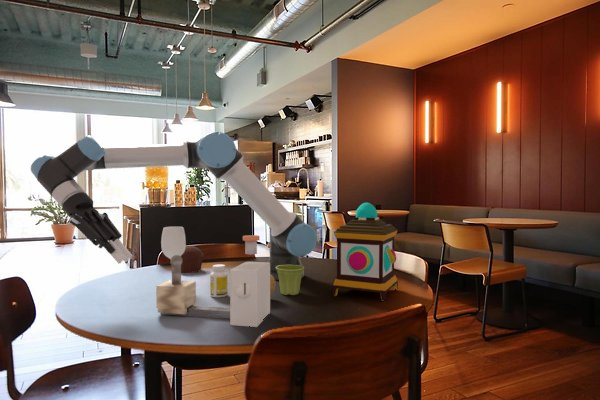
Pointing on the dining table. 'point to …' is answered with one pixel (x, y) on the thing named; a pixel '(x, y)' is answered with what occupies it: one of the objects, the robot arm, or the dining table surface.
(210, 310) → the rail track
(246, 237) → the orange mushroom
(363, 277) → the decorative lantern
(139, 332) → the dining table surface
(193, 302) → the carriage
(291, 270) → the plant pot
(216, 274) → the supplement bottle
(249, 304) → the end cabinet
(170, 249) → the wineglass
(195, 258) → the muffin
